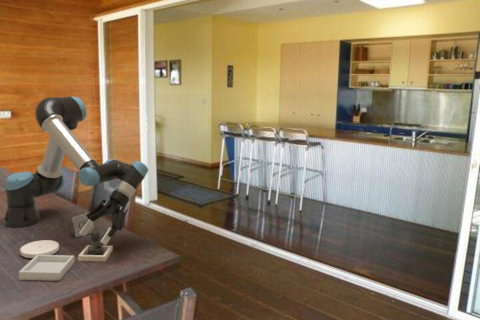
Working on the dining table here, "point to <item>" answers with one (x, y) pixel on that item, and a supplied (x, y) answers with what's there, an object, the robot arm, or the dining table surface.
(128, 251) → the dining table surface
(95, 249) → the chess piece
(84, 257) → the socket collar
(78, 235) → the electrical switch
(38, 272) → the parts tray
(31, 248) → the cream gear
